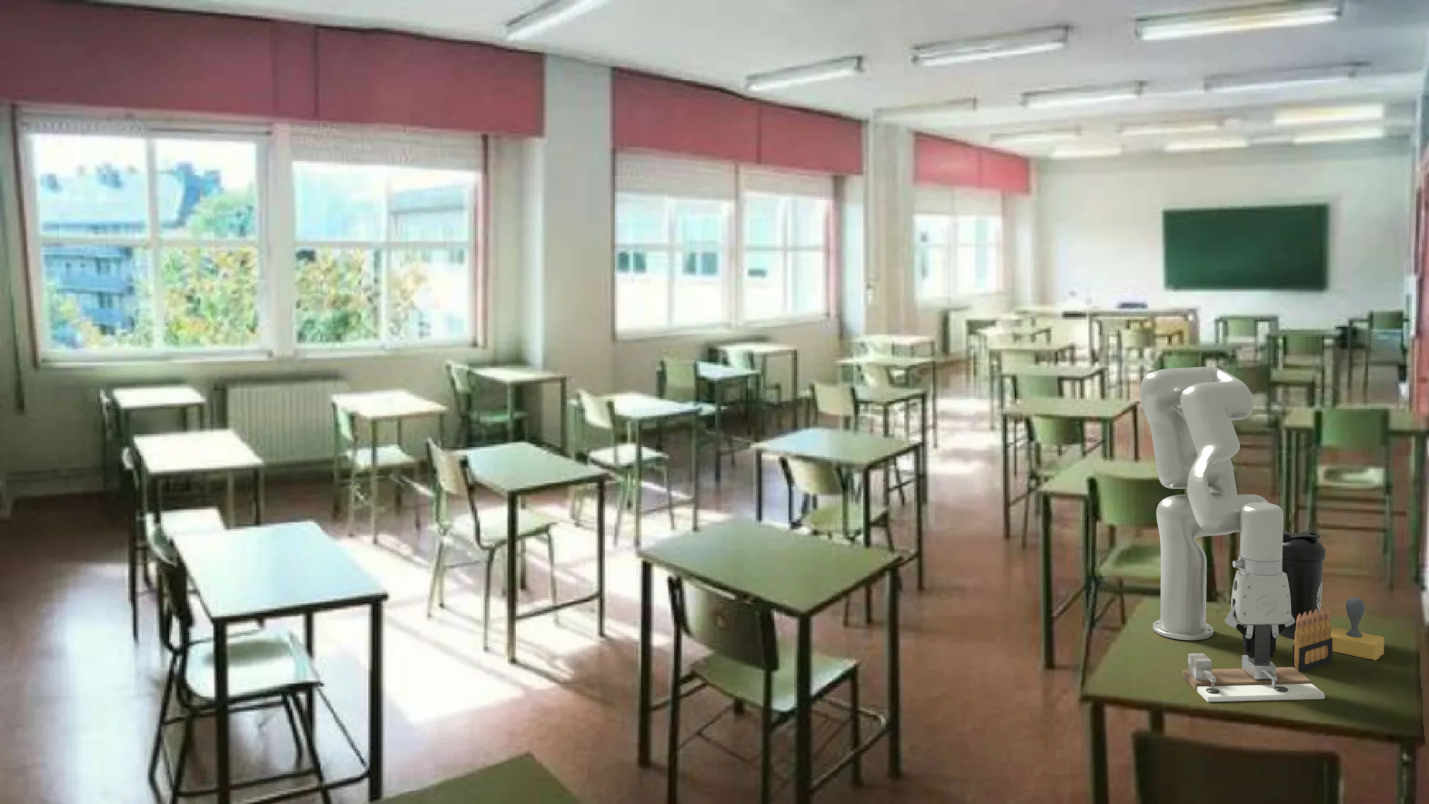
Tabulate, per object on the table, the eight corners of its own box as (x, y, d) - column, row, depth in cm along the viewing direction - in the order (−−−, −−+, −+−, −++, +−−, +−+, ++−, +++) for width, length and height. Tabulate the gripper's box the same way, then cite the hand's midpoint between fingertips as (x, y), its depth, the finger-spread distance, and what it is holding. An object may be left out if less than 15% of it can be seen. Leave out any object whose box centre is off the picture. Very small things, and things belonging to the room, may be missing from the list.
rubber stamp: (1384, 653, 231) (1386, 598, 229) (1375, 661, 227) (1377, 605, 225) (1332, 643, 238) (1334, 589, 236) (1323, 650, 234) (1324, 596, 232)
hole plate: (1197, 691, 215) (1197, 685, 215) (1311, 688, 214) (1311, 682, 214) (1207, 701, 210) (1207, 695, 210) (1324, 698, 209) (1324, 692, 209)
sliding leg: (1241, 668, 222) (1242, 617, 220) (1261, 667, 221) (1262, 616, 220) (1264, 687, 212) (1265, 634, 210) (1285, 686, 211) (1286, 633, 210)
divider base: (1182, 677, 223) (1182, 651, 222) (1293, 674, 222) (1293, 648, 221) (1203, 697, 212) (1203, 670, 212) (1319, 694, 211) (1319, 667, 211)
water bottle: (1326, 642, 238) (1329, 539, 235) (1274, 639, 242) (1276, 537, 239) (1319, 627, 247) (1321, 528, 244) (1268, 624, 251) (1271, 526, 248)
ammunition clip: (1299, 672, 223) (1301, 615, 221) (1291, 669, 224) (1292, 613, 223) (1332, 661, 228) (1334, 605, 226) (1324, 658, 229) (1325, 603, 228)
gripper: (1226, 572, 212) (1224, 663, 215) (1312, 570, 211) (1310, 661, 214) (1210, 561, 220) (1209, 649, 222) (1294, 559, 219) (1292, 647, 221)
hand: (1258, 654), depth 218 cm, fingers closed on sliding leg, 3 cm apart
